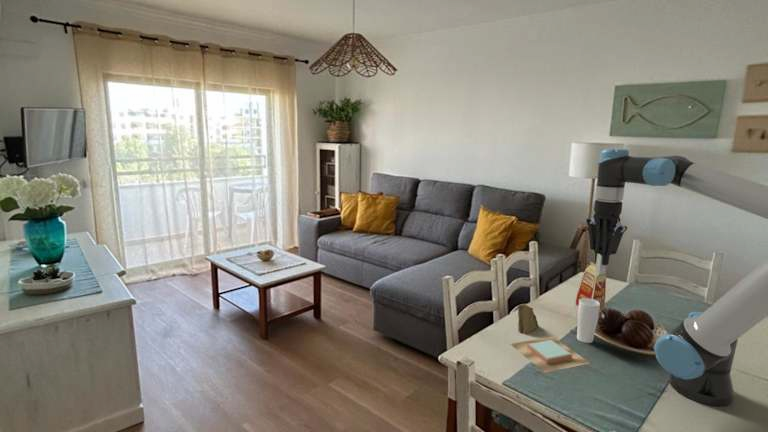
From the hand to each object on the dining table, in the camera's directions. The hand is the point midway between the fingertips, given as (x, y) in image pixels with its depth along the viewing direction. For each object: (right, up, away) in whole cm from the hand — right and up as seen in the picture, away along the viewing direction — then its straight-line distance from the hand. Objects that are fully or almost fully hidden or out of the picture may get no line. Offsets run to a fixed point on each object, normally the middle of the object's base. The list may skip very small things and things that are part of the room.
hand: (600, 273), depth 131 cm
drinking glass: (+4, -27, +18) cm, 33 cm away
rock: (-13, -25, +26) cm, 39 cm away
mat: (-13, -29, +9) cm, 33 cm away
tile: (-11, -28, +4) cm, 31 cm away
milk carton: (+19, -21, +45) cm, 53 cm away
